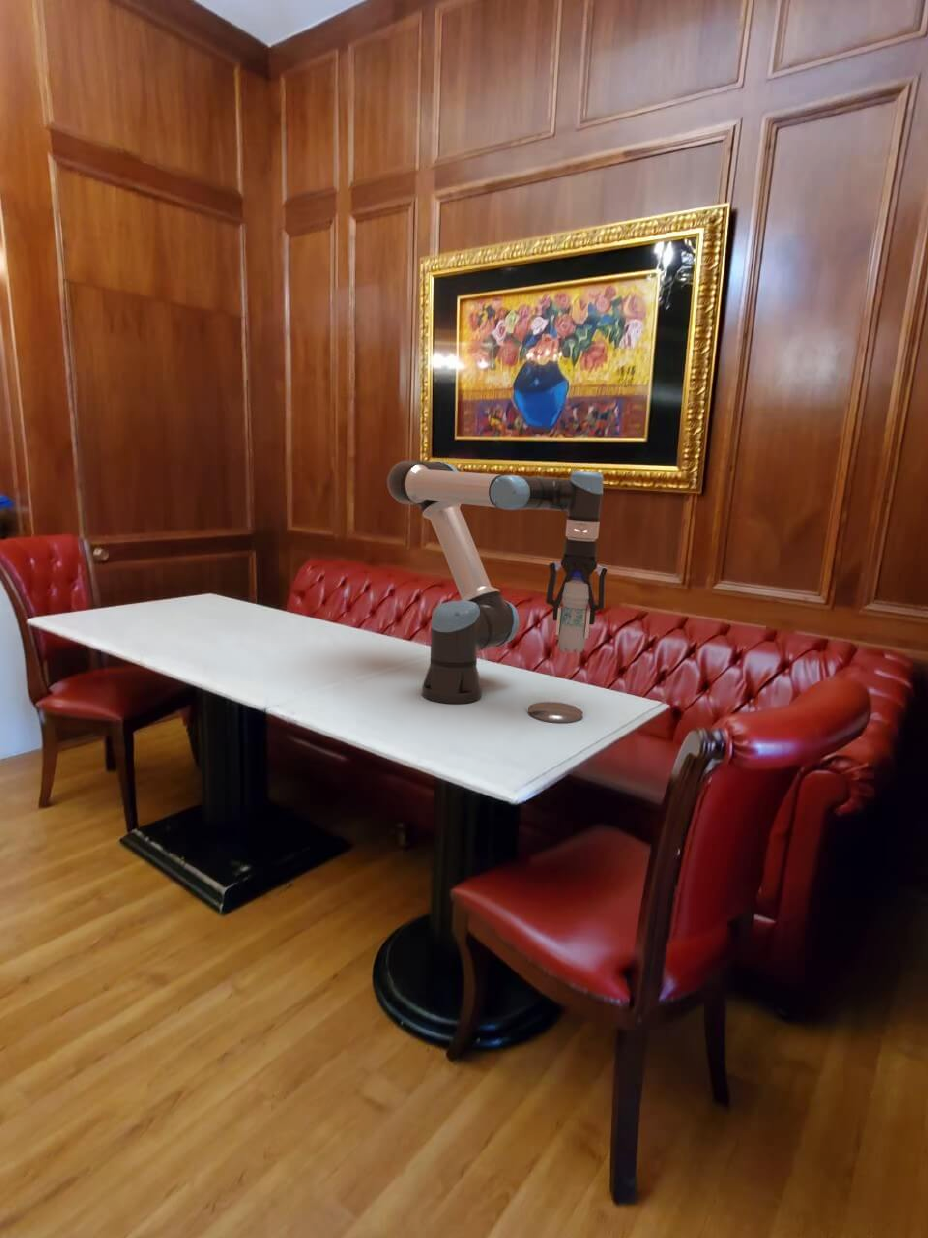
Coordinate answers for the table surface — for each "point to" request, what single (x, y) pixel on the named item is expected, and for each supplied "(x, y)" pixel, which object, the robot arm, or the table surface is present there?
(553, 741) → the table surface
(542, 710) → the flange disc
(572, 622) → the bottle
